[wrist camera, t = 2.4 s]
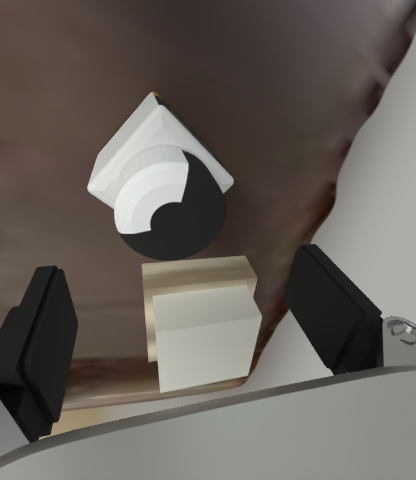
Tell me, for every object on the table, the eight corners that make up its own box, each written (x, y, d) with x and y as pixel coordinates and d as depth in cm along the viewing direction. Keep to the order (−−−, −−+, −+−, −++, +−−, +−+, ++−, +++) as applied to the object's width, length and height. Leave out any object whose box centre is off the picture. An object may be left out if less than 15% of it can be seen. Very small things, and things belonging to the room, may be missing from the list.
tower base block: (141, 261, 31) (143, 289, 27) (243, 253, 33) (257, 277, 30) (146, 331, 37) (148, 362, 34) (231, 320, 40) (241, 346, 36)
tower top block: (152, 296, 28) (155, 332, 24) (246, 284, 30) (262, 316, 26) (157, 355, 33) (160, 392, 30) (235, 342, 35) (247, 375, 32)
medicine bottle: (213, 152, 25) (264, 216, 16) (160, 206, 27) (176, 293, 17) (152, 88, 21) (170, 120, 12) (95, 156, 23) (70, 231, 13)
